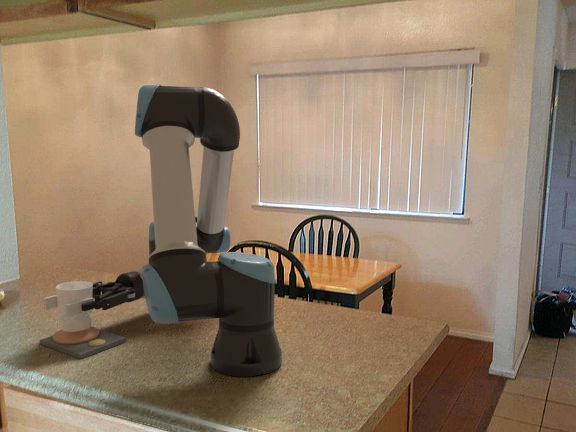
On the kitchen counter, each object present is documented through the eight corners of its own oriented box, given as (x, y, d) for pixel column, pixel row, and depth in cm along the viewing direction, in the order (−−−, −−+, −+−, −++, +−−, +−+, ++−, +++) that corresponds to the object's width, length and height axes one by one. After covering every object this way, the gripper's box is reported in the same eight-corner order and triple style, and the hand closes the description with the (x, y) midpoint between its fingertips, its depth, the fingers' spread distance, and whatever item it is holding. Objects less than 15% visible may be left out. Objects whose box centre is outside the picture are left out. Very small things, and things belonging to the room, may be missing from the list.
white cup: (97, 320, 125) (95, 280, 123) (90, 332, 117) (88, 289, 116) (63, 322, 124) (61, 281, 122) (53, 333, 116) (51, 290, 114)
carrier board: (125, 341, 120) (125, 334, 120) (80, 359, 110) (80, 351, 110) (85, 329, 128) (85, 322, 128) (39, 343, 118) (39, 336, 118)
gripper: (164, 306, 129) (85, 332, 110) (110, 292, 140) (30, 314, 121) (163, 277, 128) (83, 299, 109) (109, 265, 139) (28, 283, 120)
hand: (55, 307), depth 115 cm, fingers closed on white cup, 7 cm apart
